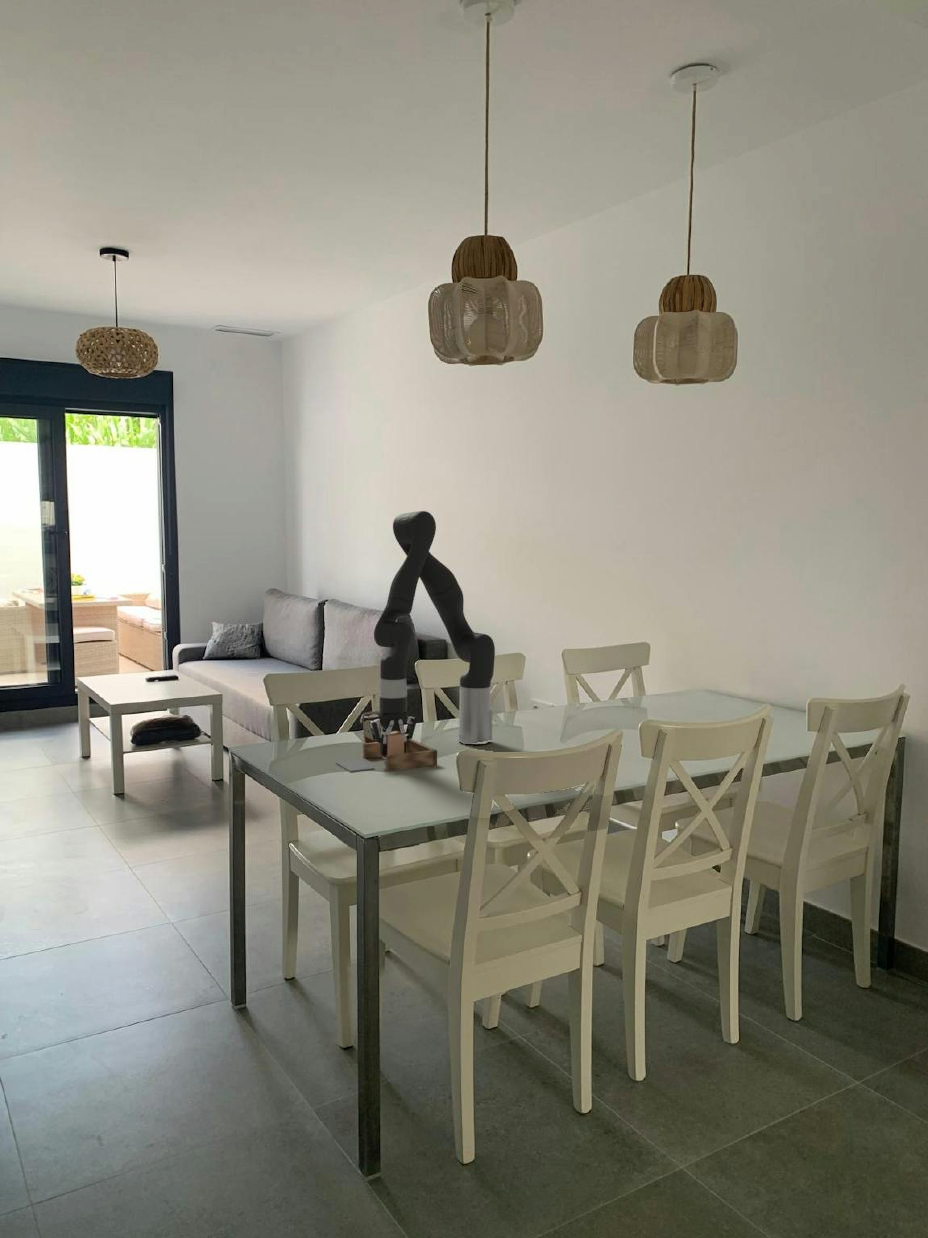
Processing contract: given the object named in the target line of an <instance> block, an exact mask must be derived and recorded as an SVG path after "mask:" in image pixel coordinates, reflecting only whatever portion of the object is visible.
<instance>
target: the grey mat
mask: <svg viewBox="0 0 928 1238" xmlns="http://www.w3.org/2000/svg"><path fill="white" fill-rule="evenodd" d="M335 764H336V765H337V766H339V767H341V768H342V769H344V770H346V771H347V772H349V773H355V772H365V771H372V769H373V770H375V767H374V766H372V765H370V764H368V763H367V762H365V761H364V760H361V759H354V760H343V761H336V762H335Z"/></svg>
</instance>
